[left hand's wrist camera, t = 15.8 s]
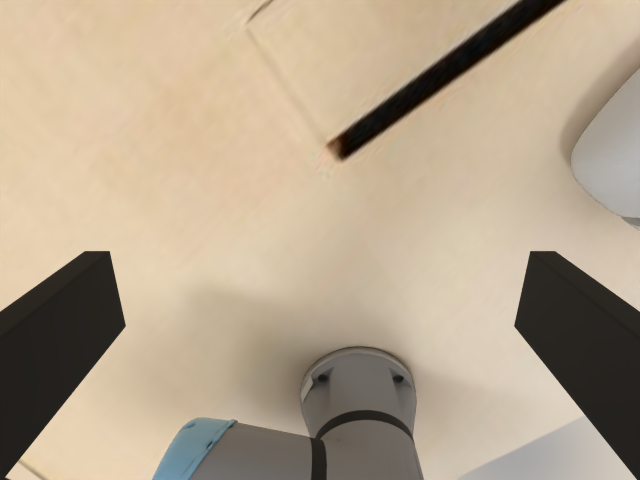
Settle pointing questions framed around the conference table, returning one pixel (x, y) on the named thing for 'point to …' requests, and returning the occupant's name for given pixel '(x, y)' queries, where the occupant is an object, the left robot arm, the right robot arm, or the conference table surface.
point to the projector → (613, 154)
